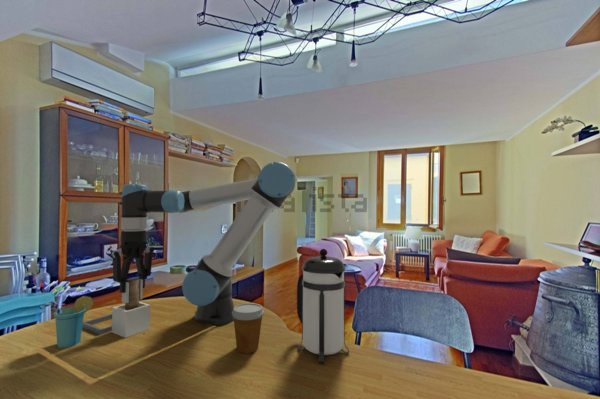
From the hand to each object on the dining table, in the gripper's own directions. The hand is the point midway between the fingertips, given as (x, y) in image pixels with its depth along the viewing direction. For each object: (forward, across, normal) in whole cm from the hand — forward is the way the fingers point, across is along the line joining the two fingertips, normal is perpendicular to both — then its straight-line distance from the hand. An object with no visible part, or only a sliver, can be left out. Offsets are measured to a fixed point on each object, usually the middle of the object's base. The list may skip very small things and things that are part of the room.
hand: (132, 300), depth 97 cm
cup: (+11, +16, -6) cm, 20 cm away
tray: (+11, +1, -11) cm, 16 cm away
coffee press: (+12, -22, +59) cm, 64 cm away
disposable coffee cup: (+11, -12, +40) cm, 43 cm away
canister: (+11, 0, 0) cm, 11 cm away
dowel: (+9, 0, 0) cm, 9 cm away
